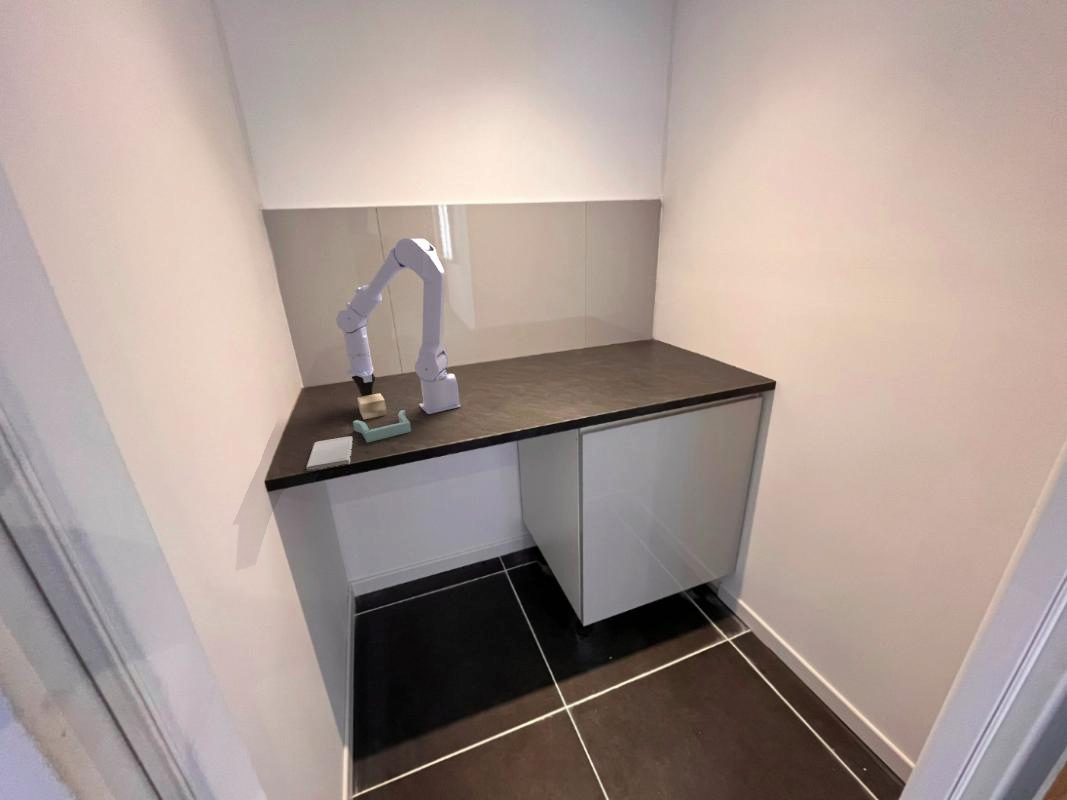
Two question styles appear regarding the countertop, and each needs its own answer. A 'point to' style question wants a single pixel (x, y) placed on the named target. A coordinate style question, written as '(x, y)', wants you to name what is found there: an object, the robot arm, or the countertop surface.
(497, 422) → the countertop surface
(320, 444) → the hard drive
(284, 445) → the countertop surface
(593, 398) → the countertop surface
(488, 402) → the countertop surface
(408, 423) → the dock
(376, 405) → the birch block
